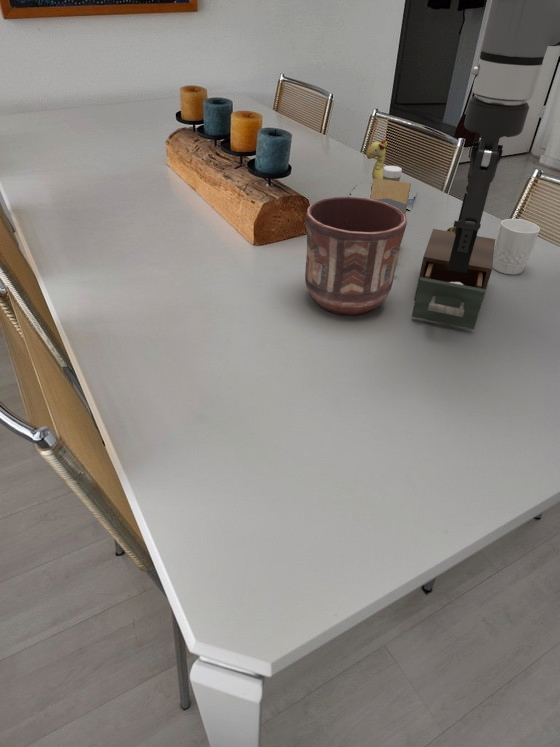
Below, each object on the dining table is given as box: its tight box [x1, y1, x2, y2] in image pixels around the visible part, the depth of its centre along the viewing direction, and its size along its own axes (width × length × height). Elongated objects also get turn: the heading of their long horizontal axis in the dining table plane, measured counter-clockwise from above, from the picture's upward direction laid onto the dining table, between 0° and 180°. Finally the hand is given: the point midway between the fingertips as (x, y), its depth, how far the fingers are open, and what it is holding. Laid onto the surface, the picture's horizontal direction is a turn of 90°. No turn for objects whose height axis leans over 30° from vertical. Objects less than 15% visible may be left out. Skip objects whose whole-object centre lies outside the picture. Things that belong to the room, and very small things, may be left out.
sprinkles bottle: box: [383, 165, 403, 182], centre depth 138 cm, size 5×5×13 cm
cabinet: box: [413, 228, 496, 309], centre depth 110 cm, size 15×13×10 cm
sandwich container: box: [370, 178, 412, 269], centre depth 120 cm, size 9×15×15 cm, turn 166°
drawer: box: [411, 262, 486, 330], centre depth 102 cm, size 18×11×8 cm, turn 160°
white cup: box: [492, 218, 541, 276], centre depth 119 cm, size 8×8×10 cm
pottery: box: [304, 196, 408, 316], centre depth 102 cm, size 18×18×18 cm
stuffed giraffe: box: [366, 137, 416, 209], centre depth 151 cm, size 16×18×16 cm
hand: (460, 251), depth 83 cm, fingers open, 13 cm apart
